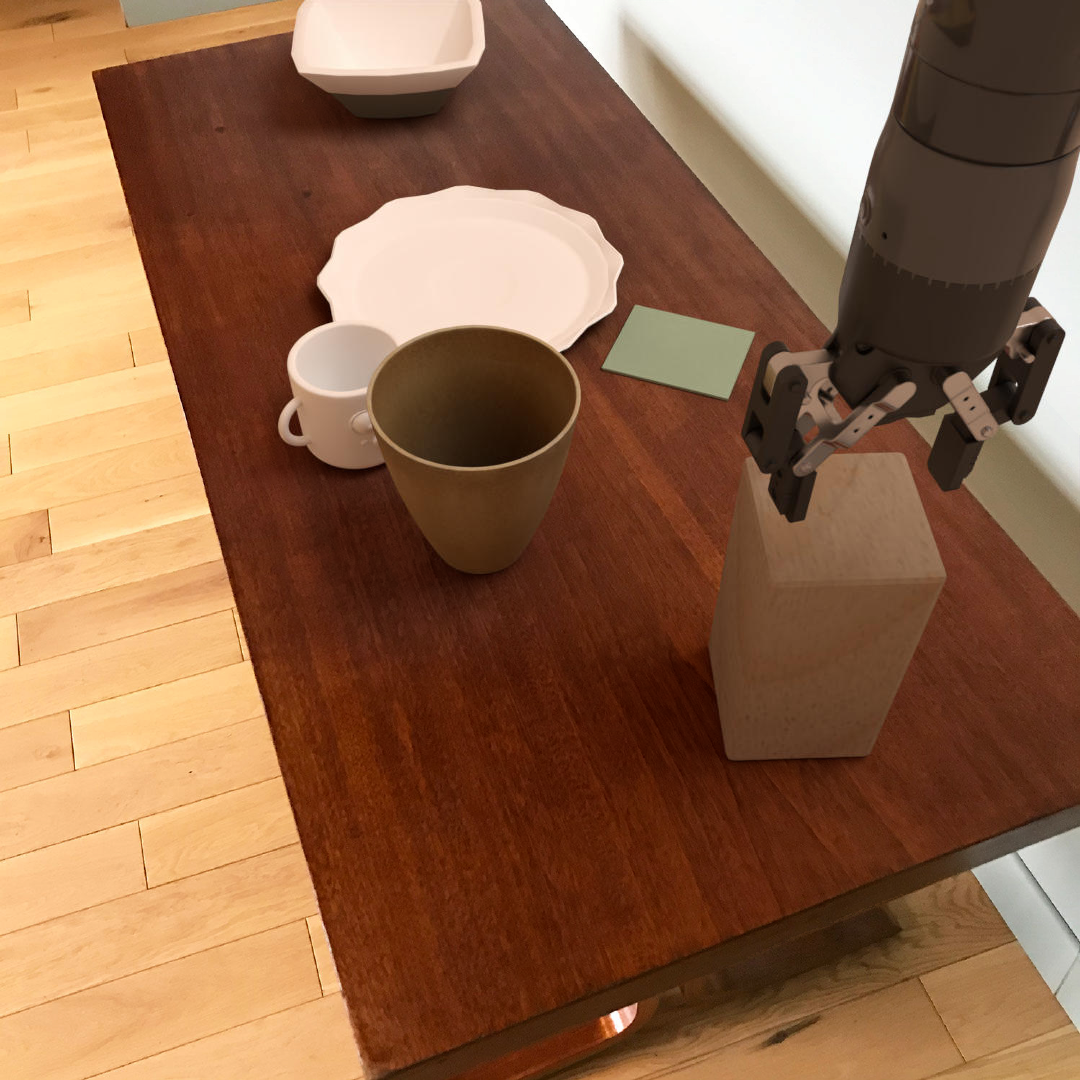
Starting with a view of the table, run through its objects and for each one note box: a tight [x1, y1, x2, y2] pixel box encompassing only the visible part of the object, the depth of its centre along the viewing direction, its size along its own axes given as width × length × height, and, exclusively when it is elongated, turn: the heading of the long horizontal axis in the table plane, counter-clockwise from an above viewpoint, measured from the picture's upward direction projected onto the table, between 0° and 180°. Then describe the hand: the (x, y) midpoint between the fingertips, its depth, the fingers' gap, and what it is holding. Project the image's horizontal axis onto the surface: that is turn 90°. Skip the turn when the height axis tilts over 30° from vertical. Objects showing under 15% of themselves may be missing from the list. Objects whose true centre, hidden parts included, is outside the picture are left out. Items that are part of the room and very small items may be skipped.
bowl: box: [290, 0, 486, 119], centre depth 133 cm, size 22×23×8 cm
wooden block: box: [707, 451, 947, 762], centre depth 72 cm, size 10×10×20 cm
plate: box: [316, 185, 625, 354], centre depth 110 cm, size 29×29×2 cm
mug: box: [277, 320, 403, 470], centre depth 93 cm, size 12×10×9 cm
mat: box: [601, 304, 756, 402], centre depth 104 cm, size 12×10×1 cm
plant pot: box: [366, 325, 582, 575], centre depth 83 cm, size 15×15×16 cm
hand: (866, 494), depth 57 cm, fingers open, 8 cm apart
